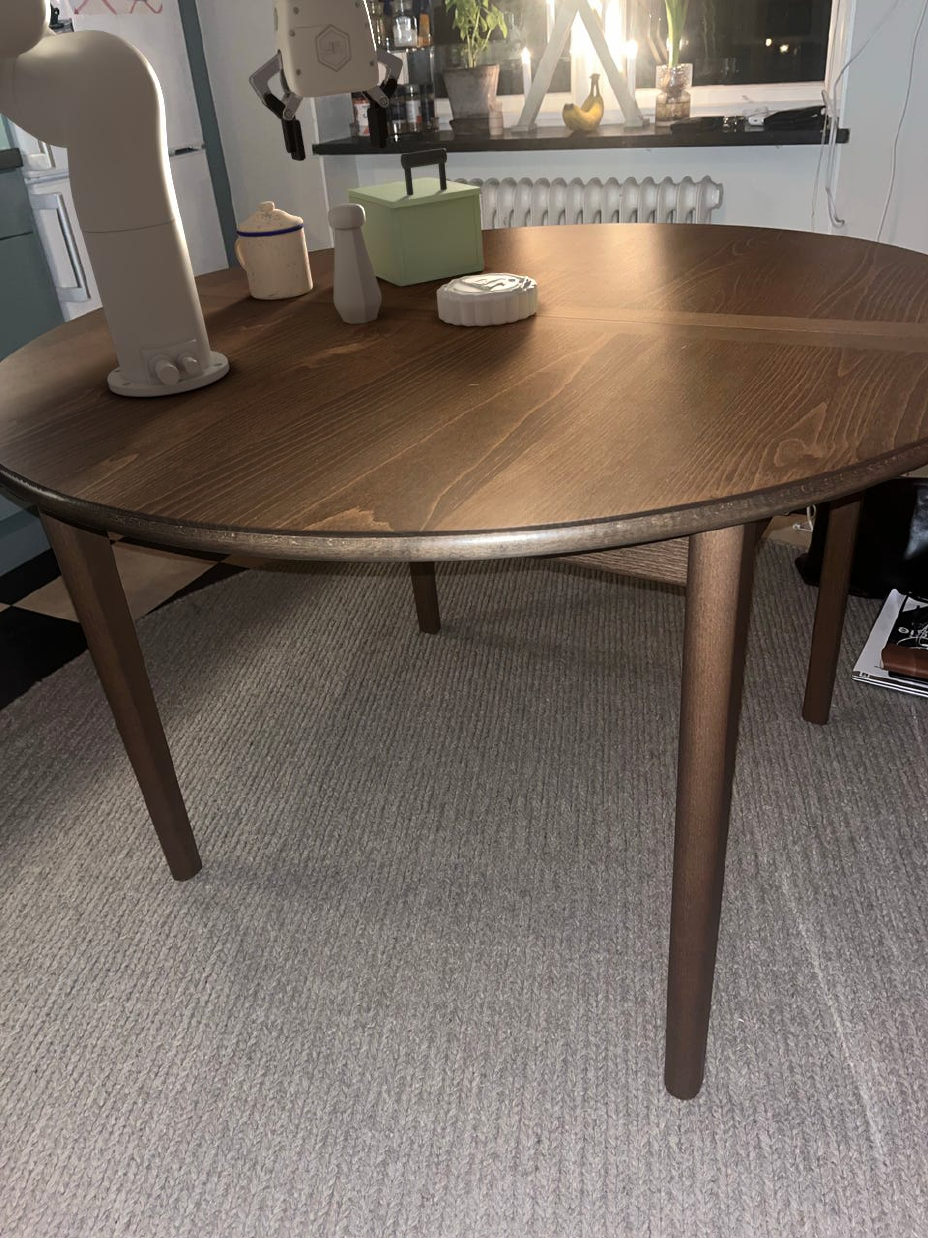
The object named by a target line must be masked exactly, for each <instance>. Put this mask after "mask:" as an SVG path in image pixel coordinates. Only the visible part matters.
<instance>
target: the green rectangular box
mask: <svg viewBox="0 0 928 1238" xmlns="http://www.w3.org/2000/svg"><path fill="white" fill-rule="evenodd" d="M480 199H481V198H480V194H479V195H473V196H467V197H461V198H454V199H448V200H442V201H436V202H430V203H424V204H418V205H412V206H406V207H400V208H390V207H387V206H383V205H380V204H376V203H373V202H369V201H366V200H362V199H359V198H355V197H352V196H349V195H348V201H349V203H353V204H359V205H360V206H362V207H363V209H364V212H365V219H366V221H365V224H364V225H363V226H361V227H360V228H361V231H362V234H363V237H364V241H365V244H366V247H367V250H368V254H369V257H370V260H371V263H372V266H373V270H374V273H375V276H376V278H377V277H378V278H380V279H382V280H384V281H387V282H389V283H391V284H393V285H396V286H398V287H406V286H410V285H417V284H420V283H426V282H430V281H435V280H436V281H437V280H442V279H446V278H451V277H452V278H453V277H456V276H461V275H466V274H472V273H475V272H476V273H477V272H481V271H485V259H484V247H483V231H482V230H483V229H482V215H481V200H480ZM349 203H348V204H349Z"/></svg>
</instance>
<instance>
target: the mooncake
mask: <svg viewBox="0 0 928 1238" xmlns="http://www.w3.org/2000/svg"><path fill="white" fill-rule="evenodd" d="M538 297H539V295H538V284H537V282H536V280H534V279H532V278H530V277H529V276H528V275H527V276H526V275H518V274H517V275H516V274H513V273H509V272H501V273H498V272H490V273H484V274H478V275H477V274H476V275H465V276H463V277H460V278H455V279H452V280H451V281H450V282H448V283H446V284H443V285H441V286H440V288H438V289H437V290H436V302H437V312H438V318H439V320H441V321H443V322H444V323H446V324H452V325H453V326H464V327H489V326H501V325H504V324H511V323H515V322H518V321H521V320H525V319H528V318H529V316H530V317H531V316H533V315H535V314H536V312H537V311H538V309H539V298H538Z"/></svg>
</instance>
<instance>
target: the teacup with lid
mask: <svg viewBox="0 0 928 1238" xmlns="http://www.w3.org/2000/svg"><path fill="white" fill-rule="evenodd" d="M275 207H276V206H275V203H274V202H273V201H271V200H269V201H268V200H267V201H262V202H259V204H258V208H259V210H258V211H256V212H254V213H253V214H252V215H251V216H250V217H249V218H248V219H247V220H245V221H243V222H240V223H239V224H238V225H237V227H236V234H237V236H238V237H237V238H236V240H235V242H234V251H235V255H236V258H237V260H238V263H239V264H240V266H241V267H242V268H243V270H244V271H246V277H247V281H248V282H247V283H248V287H249V292H250V295H251V296H252V298H254V299H257V300H264V301H265V300H266V301H269V300H271V301H273V300H274V301H275V300H284V299H290V298H291V299H292V298H295V297H298V296H302V295H305V294H307V293H309V292H310V291H311V290H312V289H313V287H314V285H313V280H312V272H311V267H310V261H309V253H308V249H307V241H306V236H305V230H304V228H305V225H306V224H305V222H304V220H303V219H302V217H300V216H298V215H291V214H289V213H288V212H286V211H284V210H282V209H278V208H275Z"/></svg>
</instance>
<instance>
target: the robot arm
mask: <svg viewBox="0 0 928 1238" xmlns="http://www.w3.org/2000/svg"><path fill="white" fill-rule="evenodd" d="M272 4H273V5H272V6H273V7H272V10H273V34H274V45H275V55H274V56H272V57H271V58H270V59H269V60H268V61H266V62H265V63H264V64H263V65H262V66H260V67H259V68H258V69H257V70H256V71H254V72H253V73H252V74H251V75H250V76H249V77H248V83H249V84H250V86H251V88H252V89H253V91H254V92H255V94H256V95H257V97H258V98H259V99H260V101H261V104H262V105H263V106H264V107H266V108H267V109H268V110H269V111H270V112H271V113H272V114H273V115H275V116H276V118H277V119H278V120H280V123H281V129H282V135H283V140H284V146H285V151H286V153H288V154H290V157H291V159H292V160H293V161H297V162H302V161H305V160H306V159H307V155H306V149H305V142H304V138H303V131H302V126H301V125H302V123H301V121H300V119H297V117H296V113H297V111H298V109H299V107H300V106H301V104H302V101H303V100H304V99H305V98H307V99H311V98H321V97H327V96H336V95H337V96H338V95H342V94H343V95H344V94H351V93H358V92H359V93H360V94H361V95H362V96H363V97H364V98H365V100H366V101H367V102H368V103H369V107H367V109H366V117H367V126H368V134H369V140H370V141H369V142H370V146H371V147H372V148H374V149H375V148H376V149H386V148H387V147H388V145H387V139H389V127H388V118H387V110H386V108H387V107H388V106H389V104H390V100H391V98H392V96H393V95H394V93H395V92H396V91H397V89H398V85H399V80H400V76H401V73H402V69H403V66H404V61H403V59H402V58H400V57H399V56H396V55H394V54H392V53H390V52H389V51H387V50H385V49H383V48H381V47H379V46H377V45H376V43H375V38H374V33H373V28H372V24H371V19H370V15H369V10H368V7H367V3H366V0H272ZM51 12H52V11H51V3H50V0H0V114H2V115H3V116H4V117H6V119H8V120H9V121H11V122H12V123H13V124H14V125H15V126H17V127H18V128H20V129H21V130H22V131H24V132H26V133H27V134H28V135H30V136H31V137H33V138H35V139H37V140H38V141H40V142H42V143H44V144H47V145H50V146H52V147H56V148H62V149H66V154H67V167H68V168H67V169H68V179H69V186H70V192H71V198H72V202H73V208H74V211H75V215H76V219H77V222H78V226H79V230H80V232H81V235H82V238H83V242H84V245H85V249H86V253H87V255H88V260H89V263H90V266H91V270H92V274H93V277H94V280H95V284H96V287H97V288H96V289H97V291H98V296H99V298H100V302H101V306H102V309H103V313H104V317H105V320H106V323H107V327H108V330H109V334H110V338H111V341H112V344H113V349H114V351H115V355H116V359H117V362H118V367H116V368H114V369H113V370H112V371H111V372H110V373H109V374H108V376H107V377H106V378H107V379H106V380H107V384H108V387H109V390H110V391H111V392H113V393H114V394H117V395H119V396H124V397H134V398H149V397H152V398H153V397H163V396H171V395H175V394H181V393H184V392H188V391H189V392H190V391H192V390H196V389H199V388H202V387H205V386H208V385H211V384H212V383H215V382H217V381H219V380H220V379H221V378H223V377H224V376H225V375H226V374H227V373H228V372H229V370H230V364H229V359H228V358H227V357H226V355H224V354H223V353H220V352H217V351H212V350H211V347H210V342H209V338H208V337H209V336H208V333H207V328H206V325H205V320H204V315H203V310H202V306H201V302H200V297H199V293H198V289H197V285H196V284H197V283H196V281H195V276H194V275H195V274H194V271H193V266H192V263H191V262H192V261H191V258H190V257H191V256H190V253H189V249H188V245H187V239H186V236H185V232H184V231H185V230H184V228H183V223H182V217H181V215H180V211H179V206H178V201H177V197H176V192H175V187H174V183H173V178H172V172H171V167H170V166H171V165H170V159H169V152H168V141H167V140H168V138H167V127H166V126H167V122H166V110H165V103H164V96H163V93H162V89H161V85H160V82H159V80H158V77H157V75H156V73H155V71H154V69H153V67H152V65H151V64H150V62H149V61H148V59H147V58H146V56H145V55H144V54H143V53H142V52H141V51H140V50H139V49H138V48H137V47H136V46H135V45H134V44H132V43H131V42H130V41H128V40H127V39H125V38H123V37H121V36H119V35H117V34H114V33H111V32H107V31H104V30H96V29H85V30H76V31H69V32H64V33H56V32H55V31H54V30H53V29H51V28H50V27H49V26H50V22H51ZM379 64H380V65H382V66H383V67H384V68H385V73H384V74H385V76H384V79H383V80H382V82H381V83H380V70H379ZM277 74H278V77H279V78H278V79H279V82H280V86H281V89H282V92H283V93H284V94H283V96H282V98H281V100H280V99H279V98H278V97H277V96H276V95H275V94H273V92H272V91H271V89H270V87H269V84H268V83H269V81H270V80H271V79H272V78H273V77H275V76H276V75H277ZM379 83H380V85H378V84H379Z"/></svg>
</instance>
